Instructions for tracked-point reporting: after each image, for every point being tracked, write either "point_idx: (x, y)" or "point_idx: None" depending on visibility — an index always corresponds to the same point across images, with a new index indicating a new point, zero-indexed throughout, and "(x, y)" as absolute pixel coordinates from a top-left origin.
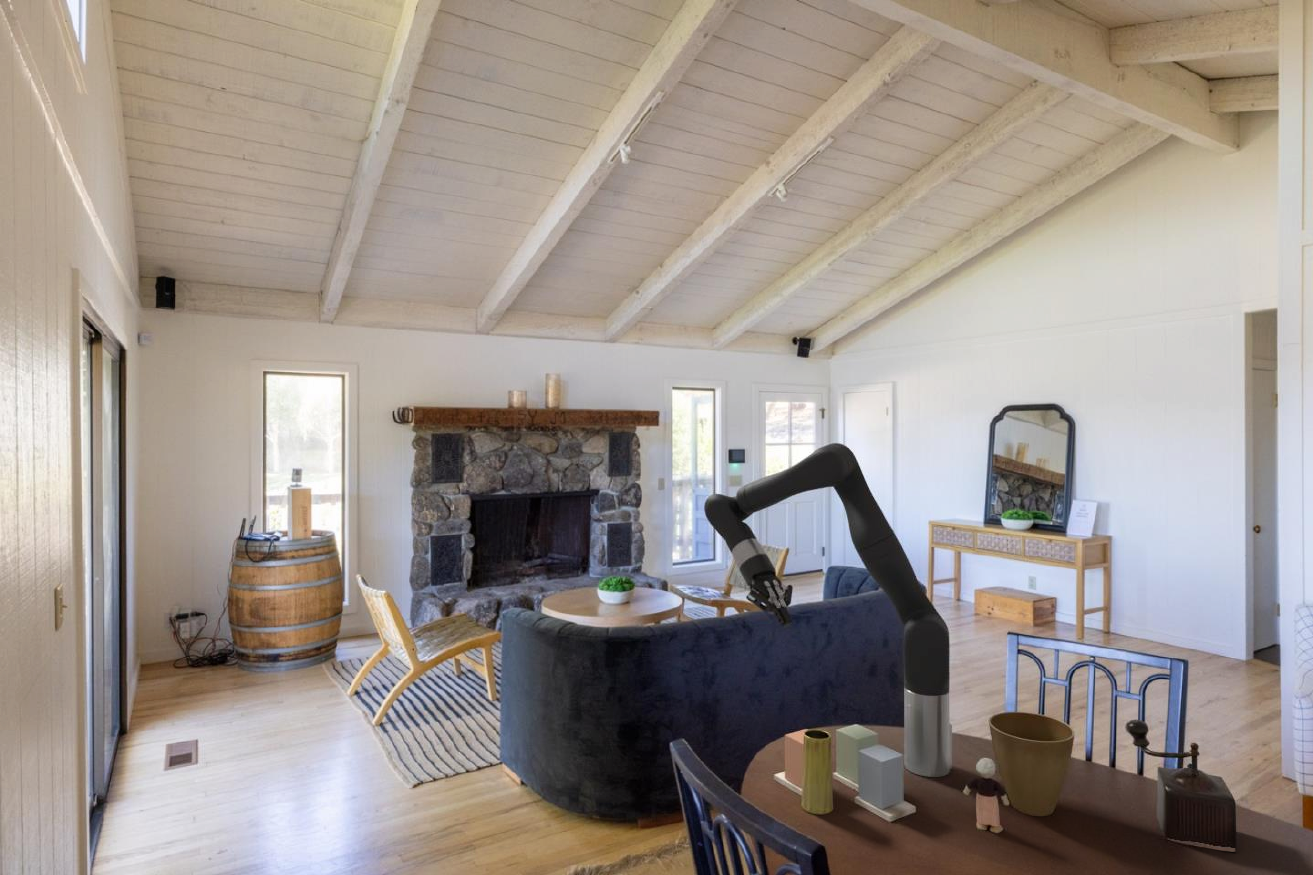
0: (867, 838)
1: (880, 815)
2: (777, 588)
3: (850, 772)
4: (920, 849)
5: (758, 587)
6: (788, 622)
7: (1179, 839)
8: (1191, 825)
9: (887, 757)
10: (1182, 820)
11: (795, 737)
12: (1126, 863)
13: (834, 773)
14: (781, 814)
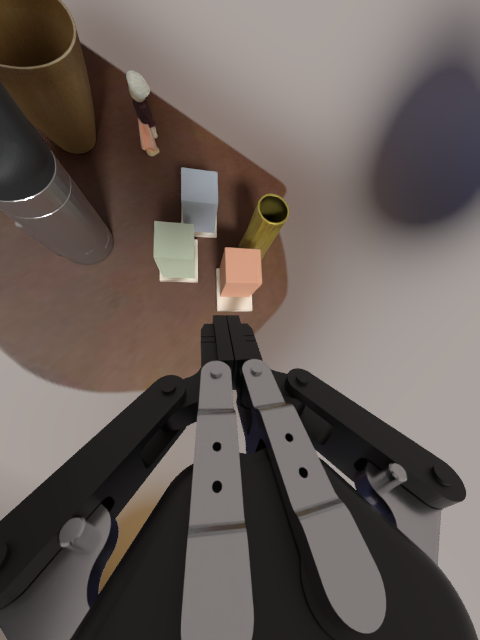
0: (250, 197)
1: None
2: (218, 496)
3: (194, 256)
4: (226, 165)
5: (401, 542)
6: (230, 315)
7: None
8: None
9: (202, 174)
10: None
11: (255, 271)
12: (106, 62)
13: (196, 279)
14: (284, 259)
